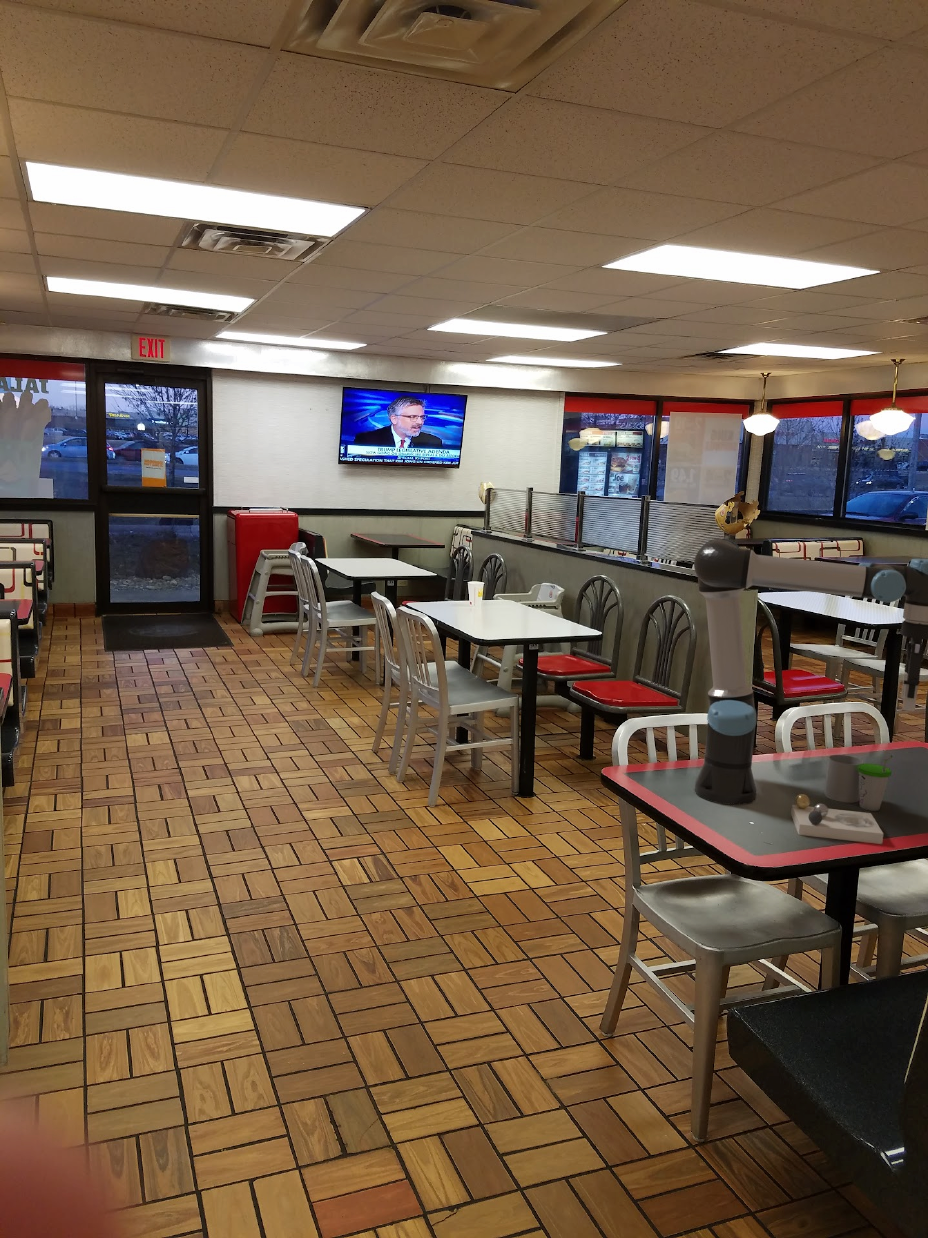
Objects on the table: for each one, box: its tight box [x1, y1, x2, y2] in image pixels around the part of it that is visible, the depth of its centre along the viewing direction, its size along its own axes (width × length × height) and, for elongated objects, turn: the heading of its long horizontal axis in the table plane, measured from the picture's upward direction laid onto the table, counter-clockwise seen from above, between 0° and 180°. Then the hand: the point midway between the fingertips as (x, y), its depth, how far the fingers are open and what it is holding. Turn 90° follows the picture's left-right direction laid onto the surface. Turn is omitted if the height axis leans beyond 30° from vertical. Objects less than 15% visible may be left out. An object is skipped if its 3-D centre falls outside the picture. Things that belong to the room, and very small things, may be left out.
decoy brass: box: [794, 793, 811, 809], centre depth 224 cm, size 3×3×3 cm
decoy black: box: [808, 811, 822, 824], centre depth 214 cm, size 3×3×3 cm
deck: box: [790, 804, 884, 845], centre depth 218 cm, size 18×13×2 cm
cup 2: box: [857, 754, 893, 812], centre depth 232 cm, size 8×8×15 cm
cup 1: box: [824, 754, 865, 804], centre depth 240 cm, size 8×8×10 cm
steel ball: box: [813, 803, 829, 817], centre depth 218 cm, size 3×3×3 cm
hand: (907, 704), depth 234 cm, fingers open, 13 cm apart
